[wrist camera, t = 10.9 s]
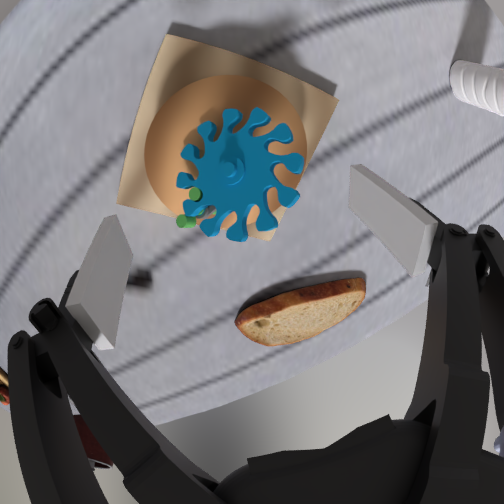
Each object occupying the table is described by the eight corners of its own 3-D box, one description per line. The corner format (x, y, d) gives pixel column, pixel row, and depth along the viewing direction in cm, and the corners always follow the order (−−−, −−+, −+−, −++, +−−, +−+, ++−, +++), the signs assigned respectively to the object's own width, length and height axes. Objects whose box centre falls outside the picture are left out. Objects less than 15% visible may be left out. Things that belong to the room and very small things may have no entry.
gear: (248, 78, 17) (331, 185, 16) (275, 108, 23) (341, 197, 21) (146, 170, 22) (198, 276, 20) (187, 179, 27) (235, 266, 25)
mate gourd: (109, 418, 61) (107, 480, 45) (64, 402, 54) (57, 467, 38) (124, 402, 55) (123, 477, 39) (71, 384, 49) (61, 461, 33)
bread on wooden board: (119, 197, 28) (106, 222, 24) (168, 36, 19) (160, 26, 15) (267, 234, 34) (278, 262, 30) (333, 98, 26) (358, 105, 21)
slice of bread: (372, 282, 44) (382, 297, 41) (305, 347, 52) (311, 362, 49) (293, 241, 36) (302, 258, 33) (224, 326, 44) (227, 344, 41)
